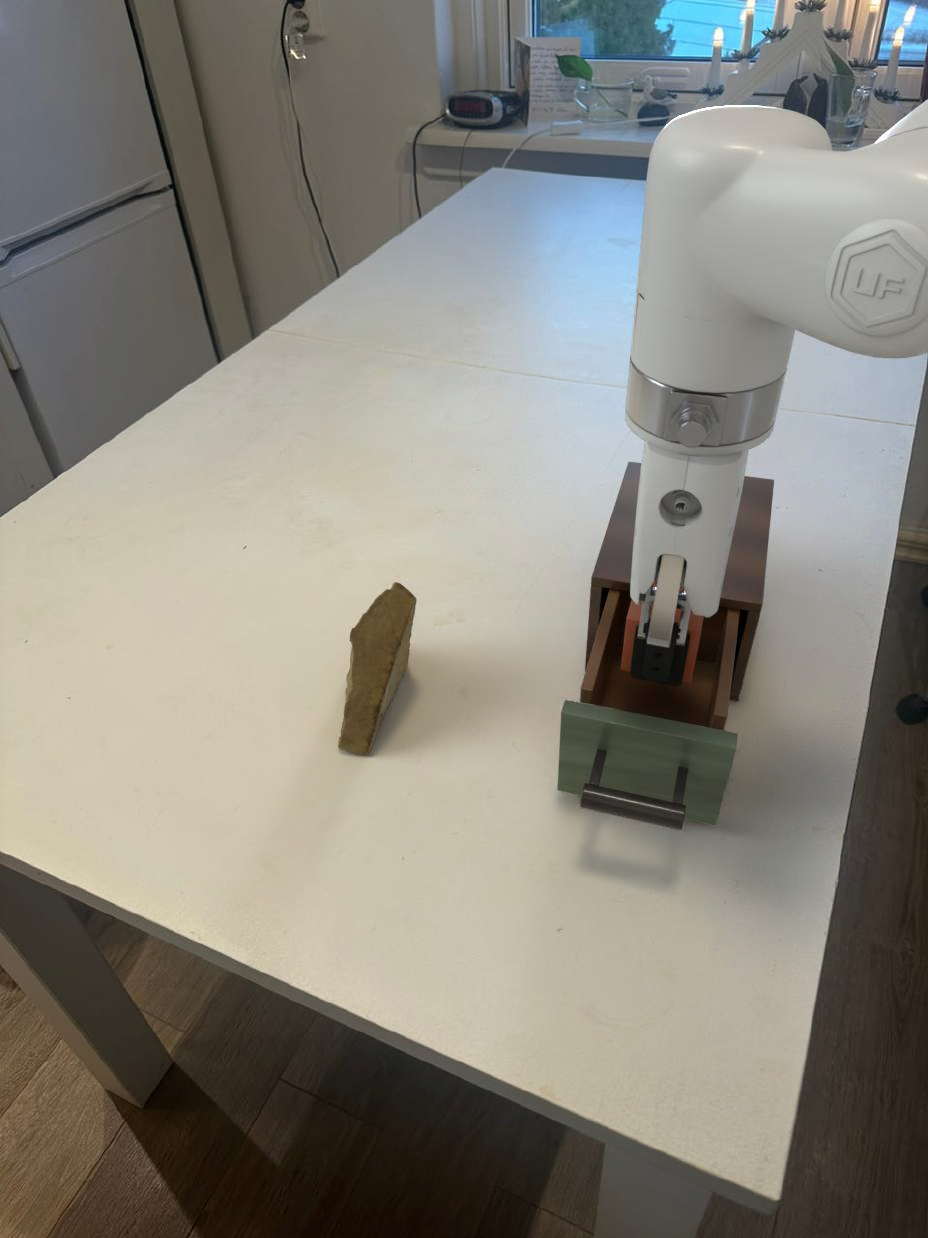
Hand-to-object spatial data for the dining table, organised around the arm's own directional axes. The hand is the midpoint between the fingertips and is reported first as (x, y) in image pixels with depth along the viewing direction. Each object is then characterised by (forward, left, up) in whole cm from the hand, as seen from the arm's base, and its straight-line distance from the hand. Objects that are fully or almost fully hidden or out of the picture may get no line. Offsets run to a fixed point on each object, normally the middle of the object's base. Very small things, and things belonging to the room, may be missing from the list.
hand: (661, 648), depth 56 cm
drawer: (0, +1, -8) cm, 9 cm away
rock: (+21, +2, -10) cm, 23 cm away
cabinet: (0, -13, -9) cm, 16 cm away
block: (0, 0, 0) cm, 0 cm away
